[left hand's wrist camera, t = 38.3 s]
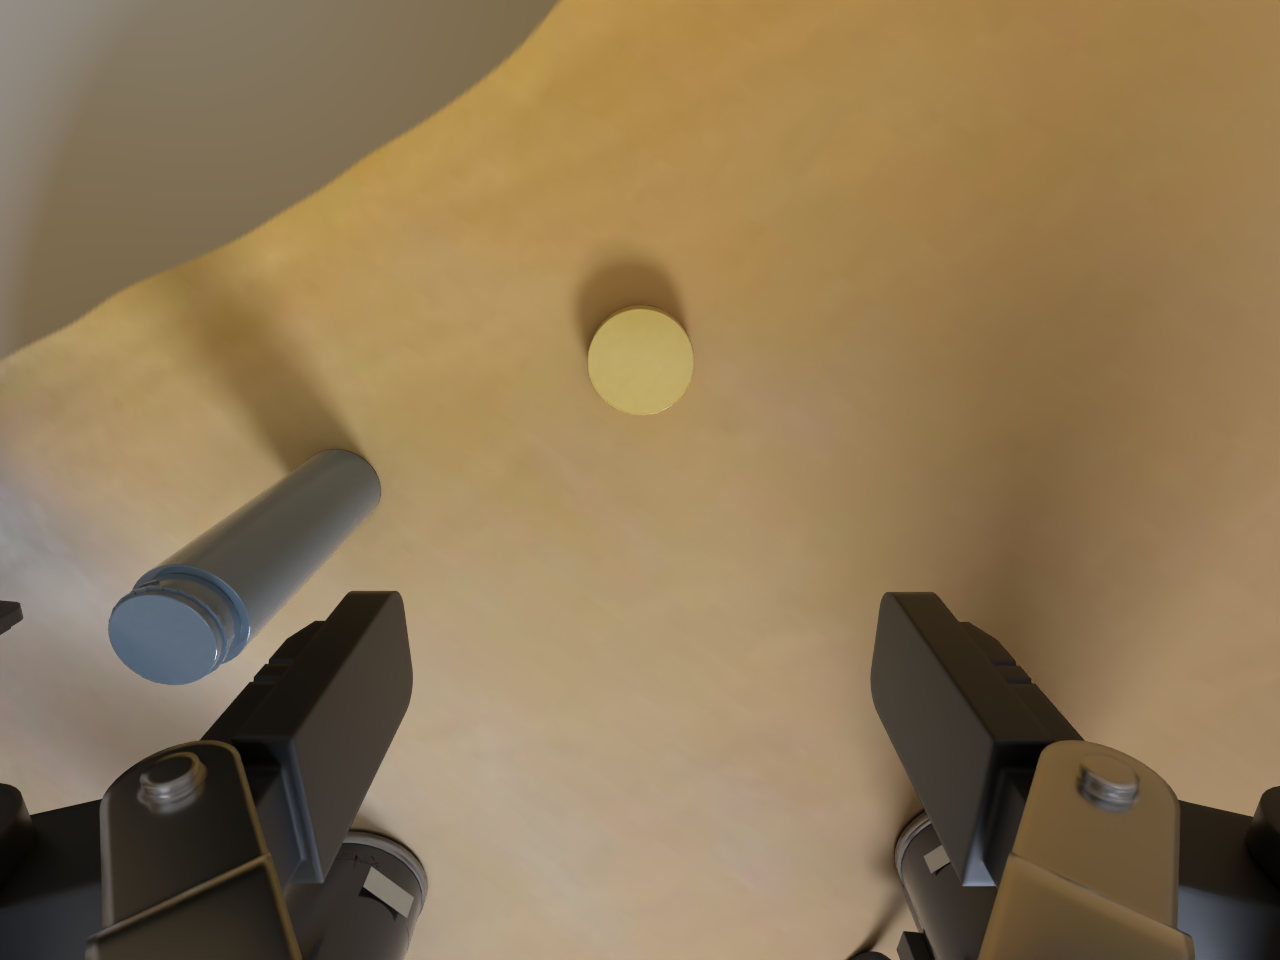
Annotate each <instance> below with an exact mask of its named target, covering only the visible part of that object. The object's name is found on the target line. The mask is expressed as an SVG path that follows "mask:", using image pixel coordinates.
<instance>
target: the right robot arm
mask: <svg viewBox="0 0 1280 960" xmlns="http://www.w3.org/2000/svg"><path fill="white" fill-rule="evenodd" d="M22 619H23V614H22V610H21V606H20V603H18V602H10V601H0V635H1V634H2V633H4V632H6V631H7V630H9V629H11V626H13V625H15V624H16V623H18V622H20V621H21V620H22ZM427 887H428V886H427V879H426V875H425V872H424V870H423V868H422V866H421V865H420V863H419V862H418V861H417V859H416V858H415V857H414V856H413V855H412V854H411V853H410V852H409V851H408V850H406V849H405V848H404V847H402V846H401V845H399V844H397V843H395V842H393V841H392V840H389V839H387V838H385V837H382V836H379V835H375V834H371V833H365V832H352V831H351V832H348V833H347V835H346V837H345V839H344V841H343V843H342V845H341V847H340V849H339V851H338V853H337V855H336V857H335V859H334V861H333V864H332V866H331V868H330V870H329V872H328V874H327V876H326V878H325V880H324V882H323V883H290V884H289V886H288V888H287V889H286V891H285V893H284V895H283V896H284V899H285V903H286V906H287V910H288V913H289V916H290V920H291V923H292V926H293V930H294V933H295V937H296V940H297V943H298V947H299V950H300V953H301V957H302V960H404V958H405V955H406V952H407V950H408V947H409V944H410V940H411V937H412V934H413V931H414V928H415V925H416V921H417V918H418V916H419V915H420V913H421V911H422V908H423V905H424V902H425V898H426V895H427Z"/></svg>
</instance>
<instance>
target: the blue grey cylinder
mask: <svg viewBox="0 0 1280 960" xmlns="http://www.w3.org/2000/svg"><path fill="white" fill-rule="evenodd" d="M380 496H381V487H380V482H379V479H378V476H377V474H376V473H375V471H374V469H373V468H372V467H371V466H370V465H369V463H367V462H366V461H365V460H364V459H363V458H361V457H360V456H358V455H356V454H354V453H352V452H349V451H345V450H337V449H334V450H326V451H323V452H320V453H318V454H316V455H315V456H313V457H312V458H310V459H309V460H308V461H306V462H305V463H303V464H302V465H300V466H299V467H298V468H296V469H295V470H293V471H292V472H290V473H289V474H287V475H286V476H285V477H283V478H282V479H280V480H279V481H277V482H276V483H275V484H273V485H272V486H270V487H269V488H267V489H266V490H265V491H263V492H262V493H260V494H259V495H257V496H256V497H255V498H253V499H252V500H250V501H249V502H247V503H246V504H244V505H243V506H242V507H240V508H239V509H237V510H236V511H234V512H233V513H232V514H230V515H229V516H227V517H226V518H224V519H223V520H222V521H220V522H219V523H217V524H216V525H214V526H213V527H211V528H210V529H209V530H207V531H206V532H204V533H203V534H201V535H200V536H199V537H197V538H196V539H194V540H193V541H191V542H190V543H189V544H187V545H186V546H184V547H183V548H181V549H180V550H179V551H177V552H176V553H174V554H173V555H171V556H170V557H168V558H167V559H166V560H164V561H163V562H161V563H160V564H158V565H157V566H156V567H154V568H153V569H151V570H150V571H148V572H147V573H146V574H144V575H143V576H142V577H141V578H140V579H139V580H138V581H137V583H136V584H135V586H134V588H133V590H132V591H131V592H130V593H129V594H127V595H126V596H124V597H123V598H121V599H120V601H119V602H118V603H117V604H116V606H115V607H114V608H113V610H112V614H111V617H110V619H109V628H108V631H109V638H110V642H111V644H112V647H113V649H114V650H115V652H116V654H117V655H118V657H119V658H120V659H121V660H122V661H123V663H124V664H125V665H127V666H128V667H129V668H130V669H131V670H133V671H134V672H135V673H137V674H139V675H140V676H142V677H143V678H145V679H148V680H151V681H153V682H156V683H162V684H168V685H183V684H188V683H191V682H195V681H197V680H199V679H201V678H203V677H204V676H206V675H208V674H209V673H211V672H213V671H214V670H216V669H217V668H218V667H219V666H220V665H221V664H223V663H226V662H228V661H230V660H232V659H233V658H235V657H236V656H237V655H239V654H240V653H241V652H242V651H243V650H244V648H245V647H246V646H247V645H248V644H249V643H250V642H251V641H252V640H253V639H254V638H255V637H256V636H257V635H258V634H259V633H260V631H261V630H262V629H263V628H264V627H265V626H266V625H267V624H268V623H269V622H270V621H271V620H272V619H273V618H274V617H275V616H276V615H277V613H278V612H279V611H280V610H281V609H282V608H283V607H284V606H285V605H286V604H287V603H288V602H289V601H290V600H291V599H292V598H293V596H294V595H295V594H296V593H297V592H298V591H299V590H300V589H301V588H302V587H303V586H304V585H305V584H306V583H307V582H308V581H309V579H310V578H311V577H312V576H313V575H314V574H315V573H316V572H317V571H318V570H319V569H320V568H321V567H322V566H323V565H324V564H325V563H326V561H327V560H328V559H329V558H330V557H331V556H332V555H333V554H334V553H335V552H336V551H337V550H338V549H339V548H340V547H341V546H342V544H343V543H344V542H345V541H346V540H347V539H348V538H349V537H350V536H351V535H352V534H353V533H354V532H355V531H356V530H357V529H358V527H359V526H360V525H361V524H362V523H363V522H364V521H365V520H366V519H367V518H368V517H369V516H370V515H371V514H372V513H373V511H374V510H375V509H376V507H377V505H378V503H379V501H380Z"/></svg>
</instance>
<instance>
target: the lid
mask: <svg viewBox="0 0 1280 960" xmlns="http://www.w3.org/2000/svg"><path fill="white" fill-rule="evenodd" d="M587 365H588V373H589V377H590V380H591V383H592V385H593V387H594V389H595V390H596V392H597V393H598V395H599V396H600V397H601V398H602V399H603V400H604V401H605V402H606V403H607V404H608V405H610V406H611V407H613V408H615V409H617V410H619V411H621V412H624V413H627V414H632V415H650V414H655V413H658V412H661V411H663V410H665V409H667V408H669V407H670V406H672V405H673V404H674V403H675V402H677V401H678V400H679V399H680V398H681V396H682V395H683V394H684V393H685V391H686V390H687V388H688V386H689V384H690V381H691V379H692V375H693V371H694V354H693V349H692V345H691V342H690V340H689V338H688V336H687V333H686V331H685V330H684V328H683V327H682V325H681V324H680V323H679V322H678V321H677V320H676V319H675V318H674V317H673V316H672V315H670V314H669V313H667V312H665V311H664V310H662V309H659V308H656V307H652V306H647V305H634V306H629V307H625V308H623V309H620V310H618V311H616V312H614V313H613V314H611V315H610V316H609V317H607V318H606V319H605V320H604V321H603V322H602V324H601V325H600V326H599V328H598V329H597V331H596V333H595V335H594V337H593V339H592V341H591V344H590V347H589V351H588V359H587Z"/></svg>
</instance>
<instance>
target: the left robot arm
mask: <svg viewBox="0 0 1280 960" xmlns="http://www.w3.org/2000/svg"><path fill="white" fill-rule="evenodd" d="M412 684H413V671H412V663H411V656H410V648H409V641H408V634H407V626H406V619H405V611H404V605H403V600H402V597H401V595H400V594H399V592H397V591H350V592H349V593H348V594H347V595H346V596H345V597H344V598H343V600H342V601H341V602H340V603H339V604H338V606H337V607H336V608H335V609H334V611H333V612H332V613H331V614H330V616H329V617H328V618H327V619H326V621H314V622H313V623H311V624H310V625H308V626H306V627H305V628H303V629H302V630H300V631H299V632H297V633H295V634H294V635H292V636H291V637H289V638H288V639H286V641H285V642H284V643H283V644H282V645H281V646H280V648H279V649H278V650H277V651H276V652H275V653H274V655H273V656H272V657H271V658H270V659H269V664H265V665H264V666H263V667H262V668H261V670H260V671H259V672H258V673H257V674H256V675H255V677H254V681H253V682H249V684H248V685H247V686H246V687H245V688H244V689H243V691H242V692H241V693H240V694H239V695H238V696H237V698H236V699H235V700H234V701H233V702H232V703H231V704H230V706H229V707H228V708H227V709H226V710H225V711H224V713H223V714H222V715H221V716H220V717H219V718H218V720H217V721H216V722H215V723H214V724H213V725H212V727H211V728H210V729H209V730H208V731H207V732H206V734H205V735H204V736H203V737H202V738H201V739H200V741H193V742H188V743H183V744H179V745H176V746H173V747H170V748H167V749H164V750H162V751H160V752H157V753H155V754H153V755H151V756H149V757H147V758H145V759H143V760H142V761H140V762H138V763H137V764H135V765H134V766H132V767H131V768H130V769H128V770H127V771H125V772H124V773H123V774H122V775H121V776H120V777H118V778H117V779H116V780H115V781H114V783H113V784H112V785H111V786H110V787H109V788H108V790H107V791H106V793H105V794H104V796H103V799H100V800H96V801H91V802H87V803H82V804H78V805H73V806H69V807H64V808H60V809H55V810H51V811H47V812H42V813H38V814H33V815H29V812H28V810H27V807H26V805H25V802H24V800H23V797H22V795H21V792H20V791H19V790H18V789H17V788H15V787H13V786H11V785H8V784H2V783H0V960H302V957H301V953H300V950H299V947H298V943H297V940H296V937H295V933H294V930H293V926H292V923H291V920H290V916H289V913H288V910H287V906H286V903H285V899H284V896H283V895H284V893H285V891H286V889H287V888H288V886H289V884H290V883H323V882H324V880H325V878H326V876H327V874H328V872H329V870H330V868H331V866H332V864H333V861H334V859H335V857H336V855H337V853H338V851H339V849H340V847H341V845H342V843H343V841H344V839H345V837H346V835H347V833H348V831H349V828H350V826H351V824H352V822H353V820H354V818H355V816H356V814H357V812H358V810H359V808H360V806H361V804H362V802H363V800H364V797H365V795H366V793H367V791H368V789H369V787H370V785H371V783H372V781H373V779H374V777H375V775H376V773H377V771H378V769H379V767H380V764H381V762H382V760H383V758H384V756H385V754H386V752H387V750H388V748H389V746H390V744H391V742H392V740H393V738H394V736H395V733H396V731H397V729H398V727H399V725H400V723H401V721H402V719H403V717H404V715H405V713H406V711H407V708H408V706H409V702H410V698H411V693H412ZM871 691H872V697H873V702H874V705H875V708H876V711H877V713H878V715H879V717H880V719H881V721H882V723H883V725H884V727H885V729H886V731H887V733H888V736H889V738H890V740H891V742H892V744H893V746H894V748H895V750H896V752H897V754H898V756H899V758H900V760H901V762H902V764H903V766H904V768H905V770H906V772H907V774H908V776H909V778H910V780H911V782H912V784H913V786H914V789H915V791H916V793H917V795H918V797H919V799H920V801H921V803H922V805H923V807H924V809H925V812H924V813H922V814H921V815H919V816H918V817H917V818H915V819H914V820H913V821H912V822H911V823H910V824H909V825H908V826H907V827H906V829H905V830H904V831H903V833H902V834H901V836H900V838H899V840H898V842H897V845H896V849H895V865H896V868H897V871H898V873H899V876H900V878H901V881H902V883H903V885H904V888H903V894H904V896H905V899H906V901H907V904H908V906H909V909H910V911H911V914H912V916H913V919H914V921H915V924H916V926H917V929H918V932H919V933H917V932H907V931H903V934H902V936H901V939H900V942H899V944H898V947H897V952H898V955H899V958H900V960H1280V786H1278V787H1273V788H1271V789H1268V790H1266V791H1265V792H1264V793H1263V794H1262V797H1261V799H1260V802H1259V804H1258V807H1257V809H1256V812H1255V814H1254V817H1251V816H1246V815H1242V814H1237V813H1233V812H1229V811H1224V810H1220V809H1215V808H1211V807H1206V806H1202V805H1197V804H1193V803H1189V802H1185V801H1181V800H1178V799H1177V796H1176V794H1175V793H1174V791H1173V790H1172V788H1171V787H1170V786H1169V785H1168V784H1167V783H1166V781H1165V780H1164V779H1163V778H1162V777H1160V776H1159V775H1158V774H1157V773H1156V772H1155V771H1153V770H1152V769H1150V768H1149V767H1148V766H1146V765H1145V764H1143V763H1142V762H1140V761H1138V760H1137V759H1135V758H1133V757H1131V756H1129V755H1127V754H1125V753H1123V752H1120V751H1118V750H1116V749H1113V748H1110V747H1107V746H1104V745H1101V744H1097V743H1092V742H1087V741H1084V739H1083V738H1082V737H1081V736H1080V735H1079V734H1078V732H1077V731H1076V730H1075V729H1074V728H1073V727H1072V726H1071V724H1070V723H1069V722H1068V721H1067V720H1066V719H1065V717H1064V716H1063V715H1062V714H1061V713H1060V712H1059V711H1058V709H1057V708H1056V707H1055V706H1054V705H1053V704H1052V703H1051V701H1050V700H1049V699H1048V698H1047V697H1046V696H1045V694H1044V693H1043V692H1042V691H1041V690H1040V689H1039V688H1038V686H1037V685H1036V684H1032V683H1031V678H1030V677H1029V676H1028V675H1027V674H1026V673H1025V671H1024V670H1023V669H1022V668H1021V667H1020V666H1016V661H1015V660H1014V659H1013V658H1012V656H1011V655H1010V654H1009V653H1008V652H1007V651H1006V650H1005V648H1004V647H1003V646H1002V645H1001V644H1000V643H999V641H998V640H996V639H995V638H993V637H992V636H990V635H988V634H987V633H985V632H984V631H982V630H980V629H979V628H977V627H976V626H974V625H973V624H971V623H969V622H958V620H957V619H956V618H955V617H954V615H953V614H952V613H951V612H950V610H949V609H948V608H947V607H946V606H945V604H944V603H943V602H942V601H941V599H940V598H939V597H938V596H937V595H936V594H935V593H933V592H887V593H885V594H884V596H883V598H882V600H881V604H880V610H879V617H878V624H877V631H876V639H875V646H874V653H873V660H872V668H871ZM850 960H891V959H889V958H888V957H887V956H885V955H884V954H882V953H879V952H873V951H870V952H865V953H861V954H858V955H856V956H854V957H853V958H851V959H850Z"/></svg>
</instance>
